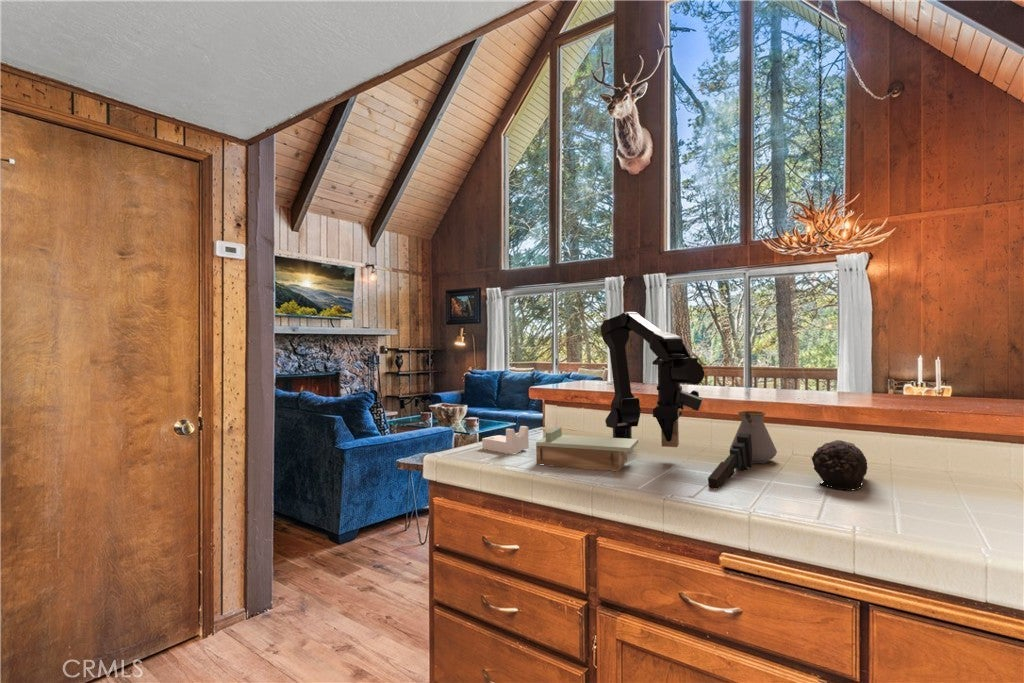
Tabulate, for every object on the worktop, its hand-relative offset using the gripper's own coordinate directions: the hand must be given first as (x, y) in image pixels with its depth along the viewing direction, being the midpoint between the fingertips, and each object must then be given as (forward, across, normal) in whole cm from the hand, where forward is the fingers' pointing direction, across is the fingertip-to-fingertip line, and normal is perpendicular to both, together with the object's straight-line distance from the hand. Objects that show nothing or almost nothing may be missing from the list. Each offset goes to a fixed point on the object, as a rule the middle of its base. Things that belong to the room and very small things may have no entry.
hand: (669, 439), depth 142 cm
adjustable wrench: (+6, -12, -15) cm, 20 cm away
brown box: (+6, -9, +22) cm, 24 cm away
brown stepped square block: (+2, 0, 0) cm, 2 cm away
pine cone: (+6, -8, -38) cm, 40 cm away
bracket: (+6, 0, +49) cm, 49 cm away
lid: (+1, -9, +20) cm, 22 cm away
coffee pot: (+6, +3, -20) cm, 21 cm away
